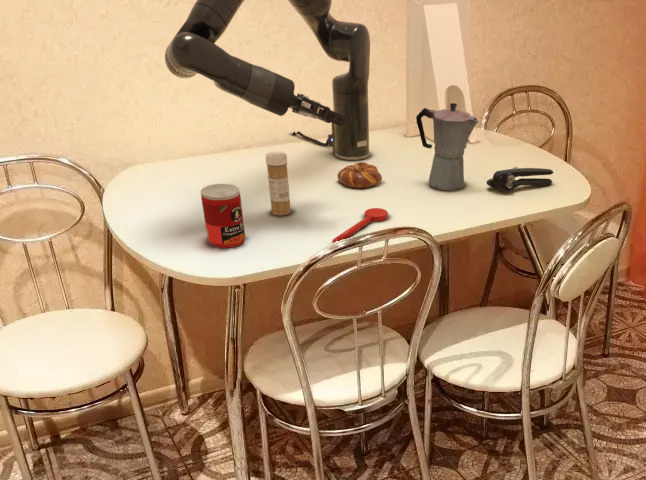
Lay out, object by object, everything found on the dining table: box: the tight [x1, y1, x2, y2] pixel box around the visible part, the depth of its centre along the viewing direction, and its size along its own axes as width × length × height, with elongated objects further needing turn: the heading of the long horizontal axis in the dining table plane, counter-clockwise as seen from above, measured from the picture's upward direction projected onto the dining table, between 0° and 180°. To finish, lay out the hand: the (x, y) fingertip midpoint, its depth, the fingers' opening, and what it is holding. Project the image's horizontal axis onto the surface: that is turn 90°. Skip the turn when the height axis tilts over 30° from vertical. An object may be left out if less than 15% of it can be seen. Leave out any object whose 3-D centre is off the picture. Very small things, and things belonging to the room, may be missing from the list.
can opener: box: [486, 166, 554, 193], centre depth 191 cm, size 18×7×6 cm, turn 114°
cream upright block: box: [405, 0, 477, 144], centre depth 215 cm, size 20×14×40 cm
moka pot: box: [415, 103, 480, 192], centre depth 187 cm, size 10×15×20 cm, turn 78°
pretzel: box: [337, 161, 383, 189], centre depth 193 cm, size 12×11×4 cm
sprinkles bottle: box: [265, 150, 292, 216], centre depth 172 cm, size 5×5×14 cm
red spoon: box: [331, 207, 389, 244], centre depth 169 cm, size 20×5×1 cm, turn 154°
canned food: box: [200, 183, 246, 249], centre depth 159 cm, size 8×8×11 cm
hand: (337, 120), depth 166 cm, fingers open, 8 cm apart
